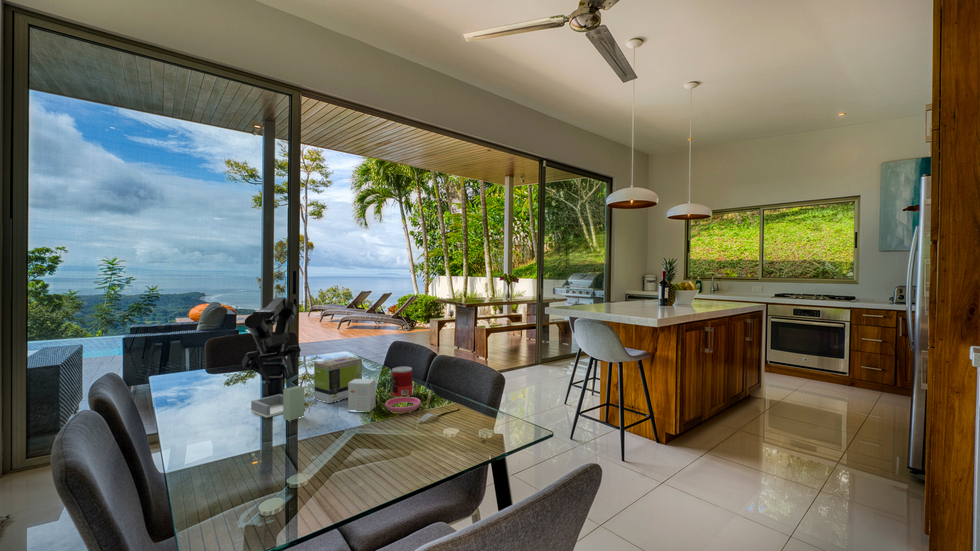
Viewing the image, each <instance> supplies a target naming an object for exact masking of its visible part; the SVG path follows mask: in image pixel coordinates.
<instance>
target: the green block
mask: <svg viewBox="0 0 980 551" xmlns="http://www.w3.org/2000/svg"><path fill="white" fill-rule="evenodd" d="M282 395H283V413H282V419H283V420H284V419H285V421H287V420H288V421H287V422H292V421H291V420H294V419H297V418H299V417H302V416H304V417H305V387H302V386H299V385H296V386H293V387H292V386H291V387H287V388H285V389H283V394H282ZM297 420H298V419H297ZM294 421H295V420H294Z"/></svg>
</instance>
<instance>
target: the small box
mask: <svg viewBox="0 0 980 551" xmlns="http://www.w3.org/2000/svg"><path fill="white" fill-rule="evenodd" d="M347 402H348V410H356V411H371V410H372V409H373V408H374V407H375V406H376V379H371V378H370V379H367V378H364V379H363V378H362V379H354V380H352V381H351V382H349V383H348V400H347ZM372 411H373V410H372ZM372 411H371V412H372Z"/></svg>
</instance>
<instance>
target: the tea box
mask: <svg viewBox="0 0 980 551" xmlns="http://www.w3.org/2000/svg"><path fill="white" fill-rule="evenodd" d="M313 366H314V367H313V370H314V374H313V375H314V380H313V381H314V400H316V399H318V400H321V401H325V402H328V403H331V402H335V401H338V400H342V399H345V398H348V383H349V382H351V381H352V380H354V379H363V369H362V368H363V367H362V366H363V364H362V358H358V357H354V356H353V357H352V356H348V355H345V356H340V357H335V358H330V359H325V360H321V361H315V362H314V364H313ZM318 400H317V401H318ZM345 400H346V399H345ZM321 401H320V402H321ZM342 401H343V400H342ZM338 402H339V401H338ZM335 403H336V402H335ZM331 404H332V403H331Z"/></svg>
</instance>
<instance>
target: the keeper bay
mask: <svg viewBox="0 0 980 551" xmlns="http://www.w3.org/2000/svg"><path fill="white" fill-rule="evenodd" d="M250 405H251V406H250V408H251V409H250V410H251V411H250V412H251V413H253V414H256V415H259V416H261V417H263V418H270V417H275V416H278V415H283V394H278V395H274V396H266V397H263V398H262V397H261V398H258V399H254V400H251V403H250Z"/></svg>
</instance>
